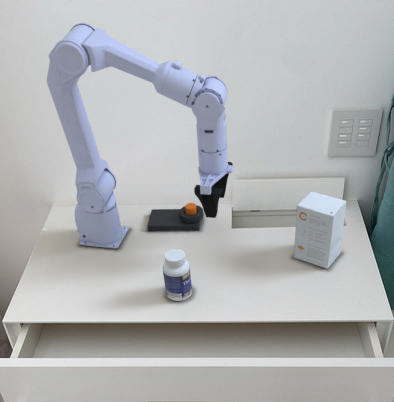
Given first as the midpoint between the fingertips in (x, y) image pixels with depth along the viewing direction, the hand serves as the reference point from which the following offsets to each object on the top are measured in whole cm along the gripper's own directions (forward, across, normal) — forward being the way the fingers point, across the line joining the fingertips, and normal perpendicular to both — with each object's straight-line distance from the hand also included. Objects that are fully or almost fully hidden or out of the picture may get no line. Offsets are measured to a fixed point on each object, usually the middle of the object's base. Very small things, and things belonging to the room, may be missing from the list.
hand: (215, 206), depth 121 cm
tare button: (+7, +7, +8) cm, 13 cm away
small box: (+10, -1, -22) cm, 24 cm away
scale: (+10, +7, +12) cm, 17 cm away
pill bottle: (+10, -18, +4) cm, 21 cm away
